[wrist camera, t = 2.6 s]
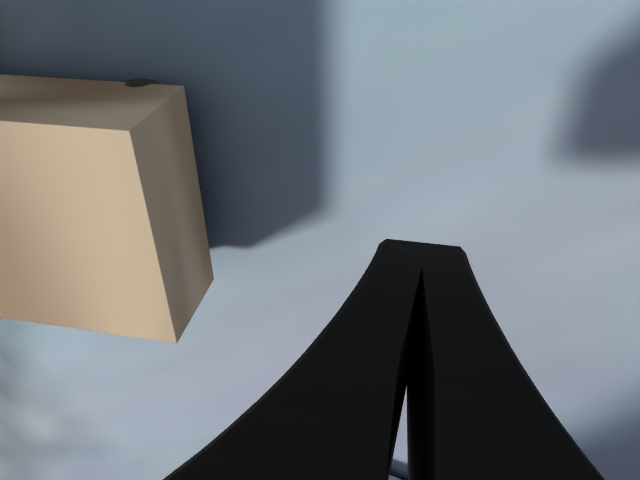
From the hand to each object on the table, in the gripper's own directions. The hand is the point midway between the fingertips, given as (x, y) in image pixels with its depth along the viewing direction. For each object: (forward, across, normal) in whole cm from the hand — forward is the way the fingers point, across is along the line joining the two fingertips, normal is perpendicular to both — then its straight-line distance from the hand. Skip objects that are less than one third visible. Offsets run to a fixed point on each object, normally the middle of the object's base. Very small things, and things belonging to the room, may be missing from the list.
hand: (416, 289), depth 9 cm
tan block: (+3, +8, 0) cm, 9 cm away
